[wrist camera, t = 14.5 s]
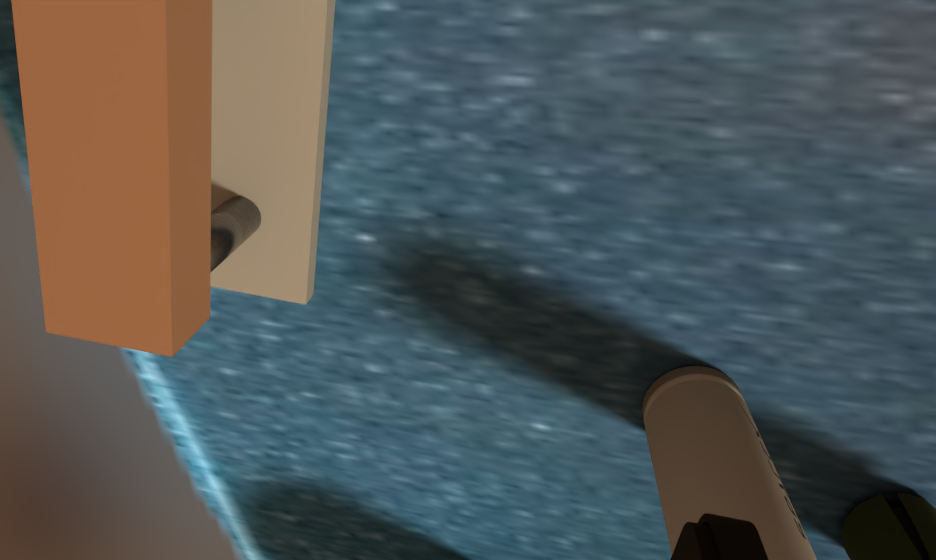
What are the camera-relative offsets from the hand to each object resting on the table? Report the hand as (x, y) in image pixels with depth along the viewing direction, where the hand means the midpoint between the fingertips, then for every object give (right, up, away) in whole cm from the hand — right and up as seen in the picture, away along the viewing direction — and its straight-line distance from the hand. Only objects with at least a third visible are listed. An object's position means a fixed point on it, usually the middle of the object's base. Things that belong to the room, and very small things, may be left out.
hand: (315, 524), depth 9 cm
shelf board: (-13, +11, +23) cm, 28 cm away
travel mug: (+16, -5, +36) cm, 40 cm away
